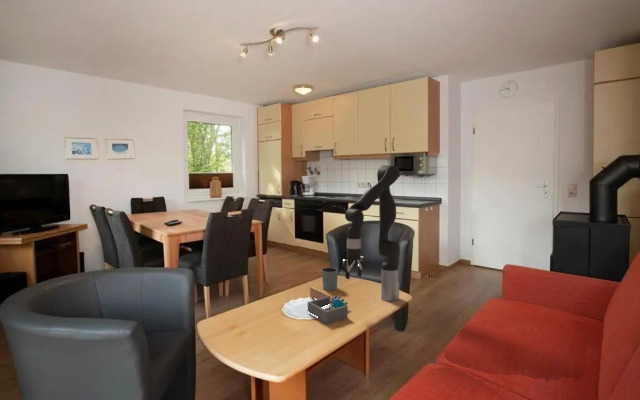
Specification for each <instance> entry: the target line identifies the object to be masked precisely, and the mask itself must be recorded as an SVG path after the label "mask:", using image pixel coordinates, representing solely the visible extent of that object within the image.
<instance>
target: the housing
mask: <svg viewBox="0 0 640 400" xmlns="http://www.w3.org/2000/svg"><path fill="white" fill-rule="evenodd" d="M328 304H329V297H325V298H321V299H317V300H315V299H312V300H310V301H307V312H308V311H309V312H310V313H312V314H314V315H316V316H318V319H317V320H318V321H320V322H322V323H323V324H325V325H329V324H332V323H335V322H338V321H342V320H344V319H347V318H348V308H347V307H348V304H347V305H345V306H342V307H338V308H335V307H334V308H335V309H334V308H331V309H325V310H324V309H322V308H321V307H323V306H325V305H328Z"/></svg>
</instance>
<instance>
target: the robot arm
mask: <svg viewBox="0 0 640 400" xmlns="http://www.w3.org/2000/svg"><path fill="white" fill-rule="evenodd" d="M376 173H377V174H376V176H377V177H376V178H377V183H375V184H374V185H373V186H371V187H370V188H369V189H367V190H366V191H365V192H364V193H363V194H362V196H361V197H360V198H359V199H358V200H357V201H356V202H355V203H353V204H352V205H351V206H349V207H348V208H347V210H345V214H344V217H345V220H346V221H347V222H350V223H351V226H350V227H349V226H348V227H347V230H346V231H347V233H346V234H347V235H346V237H347V239H346V257H347V258H346V259H344V258H343V259H341V271H343V272H345V273H344V274H345V279H347V280H350V279H351V277H350V275H351V272H350V271H351V269H352V268H354V267H356V268H357V274H356V275H357V276H358V277H360V278H361V277H362V274H363V273H362V270H363V269H365V267H366V256H362V240H361V239H362V227H363V224H364V221H365V220H364V218H365V217H364V212H365V211H368V210H369V209H370V208H371V206H372V205H373V204H374V202H375V201H376V200H377V199H378V200H379V202H378V204H379V208H378V212H379V235H378V236H379V237H378V253H379V255H380V256H383V257H387V258H388V261H385V262H382V263H381V271H380V273H381V274H380V275H381V277H380V278H381V279H380V280H381V281H380V282H381V289H380V291H381V292H380V293H381V295H380V298H381V300H383V301H386V302H395V301H397V300H398V299H400V282H399V266H400V257H401V256H400V255H401V253H400V252H401V247H400V243H399V242H398V241H395V240H389V234H390V233H389V232H390V229H391V228H392V226H393V225H394V223H395V221H396V219H397V205H396V202H395V199H394V197H393V195H392V193H391V186H392V185H393V184H394V183H395V182H396V181H397V180H398V179H399V177H400V169H399V167H397V166H396V165H388V164H387V165H381V166H379V167H378V169H377V172H376Z"/></svg>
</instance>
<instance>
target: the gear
mask: <svg viewBox="0 0 640 400" xmlns="http://www.w3.org/2000/svg"><path fill="white" fill-rule="evenodd" d="M330 303H331V306H330V307H331V308H333V309H335V308H338V307H342V306H345V305H347V309H348V308H349V307H348V304H349V302H348V301H346V302H345V299H344V298H342V297H341V296H337V295H335V296H333V297H331V301H330Z"/></svg>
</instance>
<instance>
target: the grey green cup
mask: <svg viewBox="0 0 640 400" xmlns="http://www.w3.org/2000/svg"><path fill="white" fill-rule="evenodd" d="M338 273H339V270H338V268H335V267H324V268H322V269H321V279H322V280H321V281H322V289H323V290H324V291H327V292H331V291H336V290H337V289H338Z"/></svg>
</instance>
